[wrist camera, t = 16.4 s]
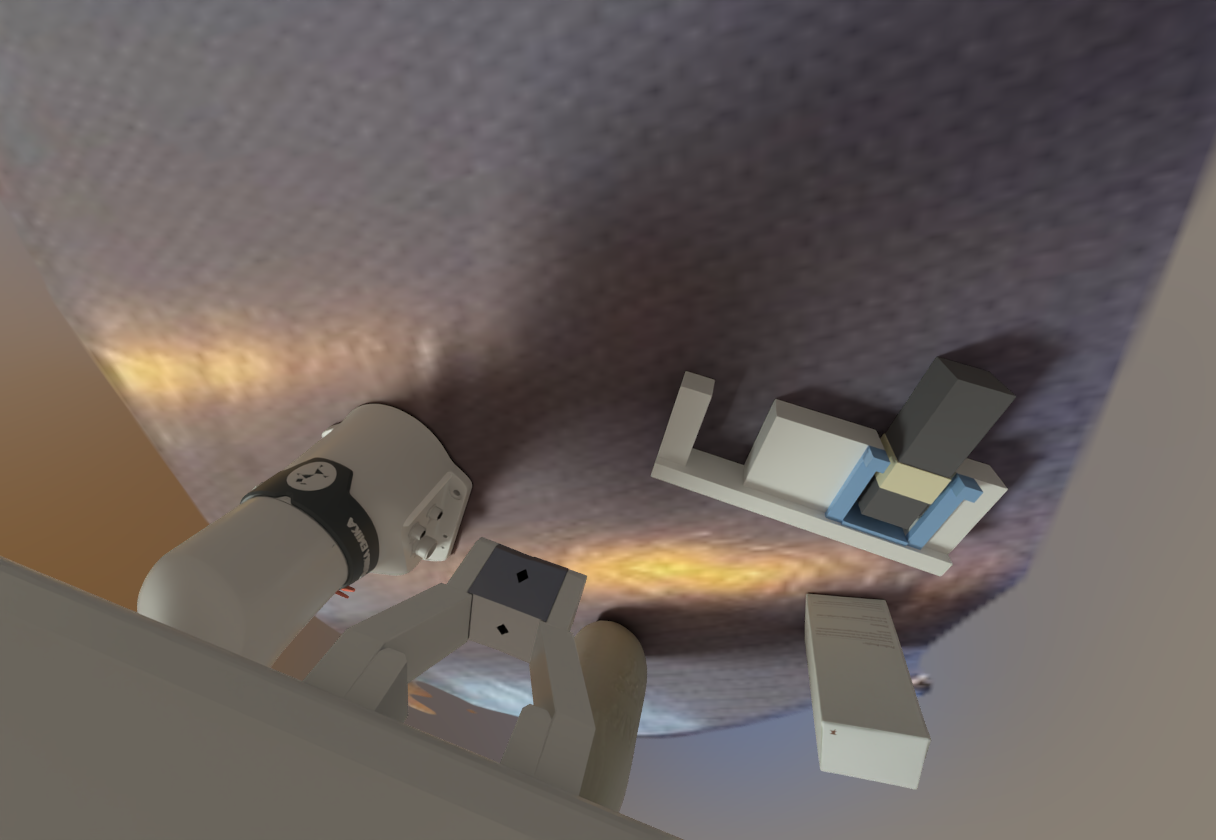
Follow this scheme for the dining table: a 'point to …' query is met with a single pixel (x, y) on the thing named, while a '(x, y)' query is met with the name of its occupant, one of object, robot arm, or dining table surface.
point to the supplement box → (862, 692)
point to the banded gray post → (933, 439)
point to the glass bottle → (611, 707)
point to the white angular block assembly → (820, 479)
